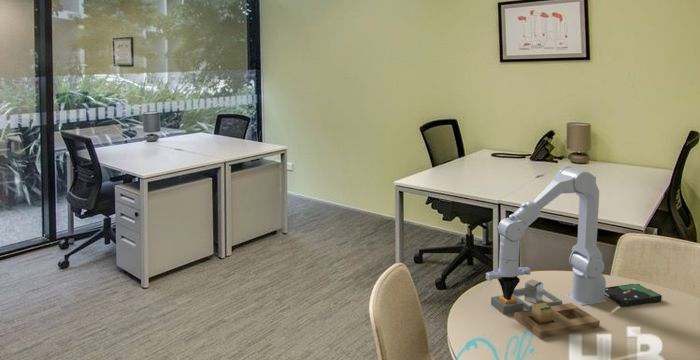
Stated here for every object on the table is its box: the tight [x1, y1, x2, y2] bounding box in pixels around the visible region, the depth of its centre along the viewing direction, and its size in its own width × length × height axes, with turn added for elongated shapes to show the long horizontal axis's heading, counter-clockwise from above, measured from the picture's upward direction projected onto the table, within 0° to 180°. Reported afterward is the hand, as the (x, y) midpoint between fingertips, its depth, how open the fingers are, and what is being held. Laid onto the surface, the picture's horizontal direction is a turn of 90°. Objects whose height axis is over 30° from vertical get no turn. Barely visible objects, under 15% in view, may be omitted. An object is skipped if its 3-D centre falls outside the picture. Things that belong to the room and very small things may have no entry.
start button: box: [499, 295, 516, 304], centre depth 159 cm, size 4×4×3 cm
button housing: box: [490, 294, 524, 315], centre depth 159 cm, size 7×7×3 cm
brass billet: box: [531, 302, 553, 325], centre depth 147 cm, size 4×4×6 cm
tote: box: [512, 287, 563, 311], centre depth 164 cm, size 12×12×2 cm
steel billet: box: [523, 279, 544, 304], centre depth 163 cm, size 4×4×6 cm
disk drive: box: [605, 283, 663, 308], centre depth 165 cm, size 10×3×15 cm
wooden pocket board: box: [513, 302, 601, 340], centre depth 149 cm, size 20×12×2 cm, turn 106°
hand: (507, 298), depth 158 cm, fingers closed, pressing on start button
